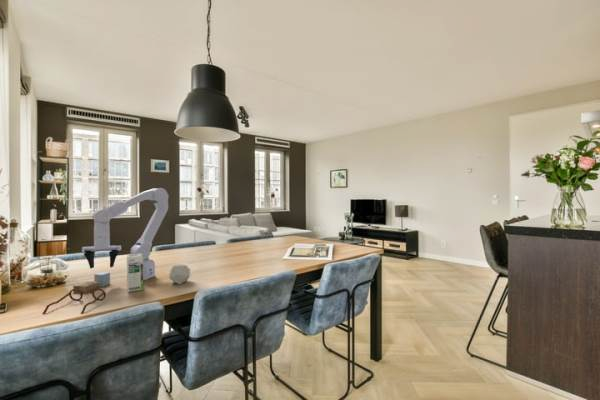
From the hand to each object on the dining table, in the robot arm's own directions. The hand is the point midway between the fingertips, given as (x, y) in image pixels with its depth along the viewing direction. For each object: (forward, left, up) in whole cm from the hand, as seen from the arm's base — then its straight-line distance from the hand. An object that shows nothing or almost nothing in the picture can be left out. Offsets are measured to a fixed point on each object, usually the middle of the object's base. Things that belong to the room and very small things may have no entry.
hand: (102, 267), depth 128 cm
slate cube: (0, 0, -8) cm, 8 cm away
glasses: (-12, +24, -8) cm, 28 cm away
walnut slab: (0, +8, -8) cm, 11 cm away
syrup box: (-19, +3, -8) cm, 21 cm away
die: (-32, -9, -8) cm, 34 cm away
